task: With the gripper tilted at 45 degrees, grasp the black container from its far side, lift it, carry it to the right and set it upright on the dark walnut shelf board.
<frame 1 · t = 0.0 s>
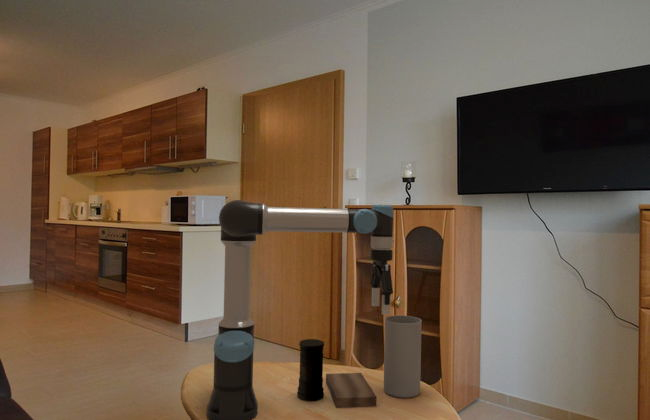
hand: (380, 310, 158), 28 cm above the table, tool pointing down, fingers open, 13 cm apart
cylinder vase: (401, 392, 158), on the table
shelf board: (349, 393, 155), on the table
container: (310, 396, 152), on the table
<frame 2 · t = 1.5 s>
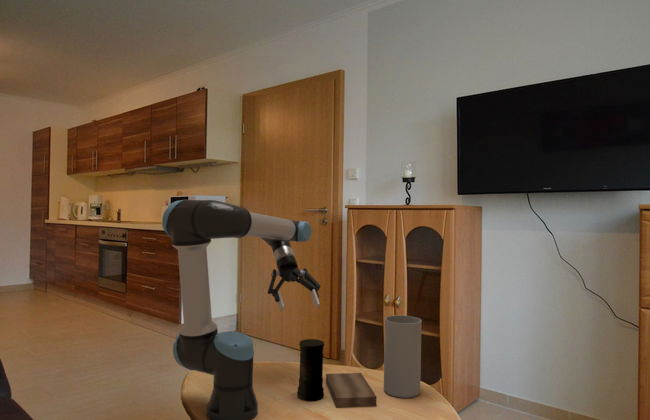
hand: (300, 307, 162), 28 cm above the table, tool tilted 45°, fingers open, 13 cm apart
nothing on the table moved.
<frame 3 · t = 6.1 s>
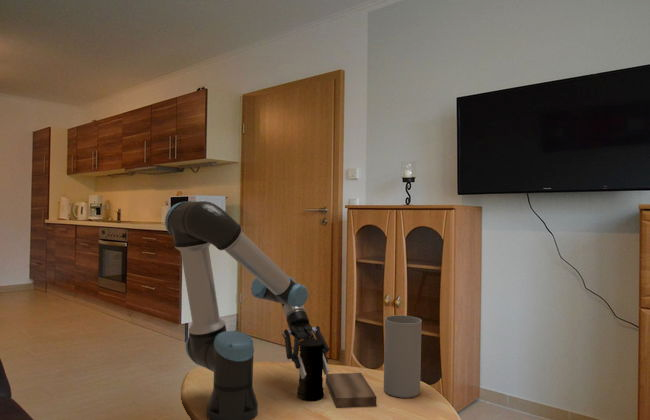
hand: (315, 374, 149), 8 cm above the table, tool tilted 45°, fingers closed on container, 8 cm apart
container: (310, 396, 152), on the table, touching gripper
everything else where it was.
when the fingers open (13 cm above the table, at t = 11.2 s): container drops 1 cm, resting on shelf board.
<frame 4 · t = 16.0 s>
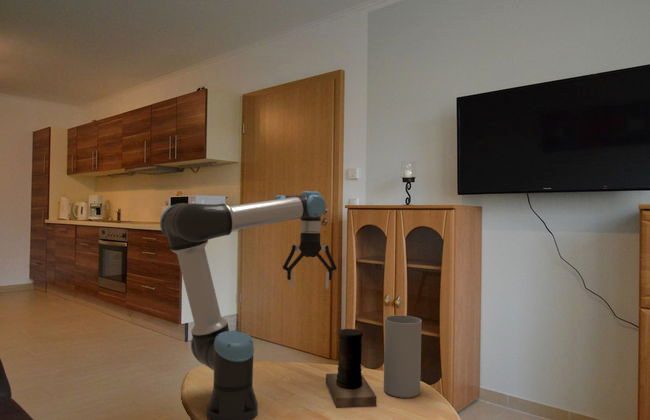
hand: (309, 288, 172), 33 cm above the table, tool pointing down, fingers open, 13 cm apart
container: (349, 385, 155), point 3 cm above the table, touching shelf board
everything else where it was.
at the end: container inside the target area on the shelf board (0.2 cm from its centre), point 2.8 cm above the shelf board's base; container tilted 0°; the gripper is holding nothing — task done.
